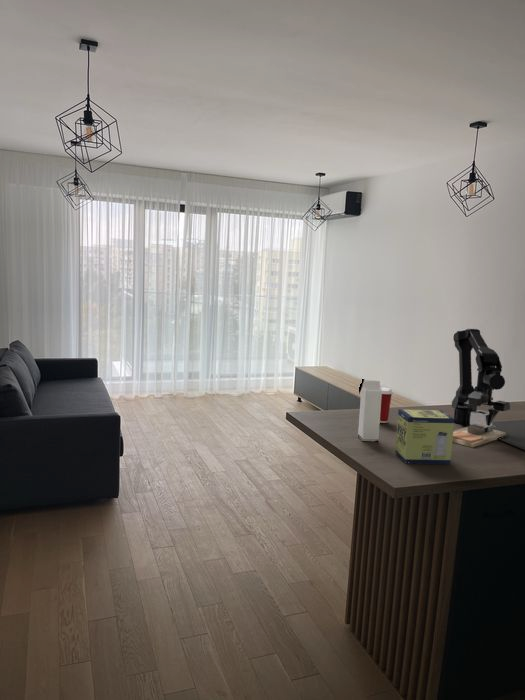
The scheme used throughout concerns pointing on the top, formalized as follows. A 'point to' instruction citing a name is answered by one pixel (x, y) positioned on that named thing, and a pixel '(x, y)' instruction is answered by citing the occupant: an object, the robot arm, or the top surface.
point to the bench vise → (479, 429)
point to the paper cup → (385, 403)
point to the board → (475, 437)
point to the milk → (370, 410)
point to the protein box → (424, 436)
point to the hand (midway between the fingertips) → (480, 423)
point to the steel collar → (479, 418)
